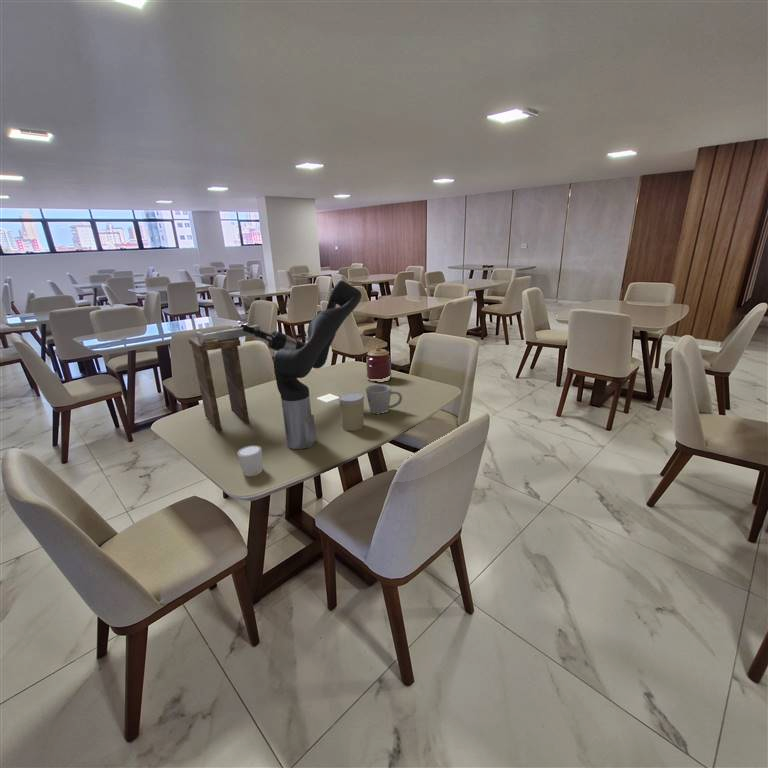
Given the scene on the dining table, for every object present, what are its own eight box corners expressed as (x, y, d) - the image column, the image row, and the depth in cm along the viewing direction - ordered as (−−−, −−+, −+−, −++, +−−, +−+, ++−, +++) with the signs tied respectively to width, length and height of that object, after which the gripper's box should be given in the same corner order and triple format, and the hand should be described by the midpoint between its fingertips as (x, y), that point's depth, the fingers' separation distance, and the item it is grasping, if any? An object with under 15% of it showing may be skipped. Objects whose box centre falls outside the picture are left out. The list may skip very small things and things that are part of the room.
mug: (370, 405, 162) (369, 383, 159) (404, 407, 159) (404, 384, 156) (364, 415, 152) (362, 391, 149) (400, 417, 149) (400, 393, 146)
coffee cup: (351, 419, 148) (349, 391, 144) (370, 424, 143) (368, 395, 139) (335, 428, 141) (332, 398, 137) (354, 434, 136) (352, 403, 132)
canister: (396, 378, 198) (395, 345, 193) (379, 384, 190) (378, 350, 184) (379, 374, 207) (377, 342, 202) (361, 379, 198) (359, 347, 193)
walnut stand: (238, 408, 165) (225, 331, 154) (252, 422, 149) (239, 337, 139) (203, 416, 157) (187, 335, 146) (215, 432, 141) (198, 343, 131)
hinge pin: (258, 332, 149) (256, 322, 148) (261, 333, 146) (259, 323, 145) (198, 342, 137) (196, 331, 136) (201, 344, 134) (198, 333, 133)
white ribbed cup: (248, 480, 109) (244, 458, 107) (236, 472, 113) (232, 451, 111) (269, 470, 114) (266, 449, 112) (257, 463, 118) (253, 443, 116)
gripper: (285, 354, 149) (244, 338, 138) (272, 349, 160) (233, 333, 149) (292, 337, 149) (251, 319, 138) (279, 332, 160) (240, 316, 149)
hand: (242, 327), depth 143 cm, fingers closed on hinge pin, 2 cm apart
